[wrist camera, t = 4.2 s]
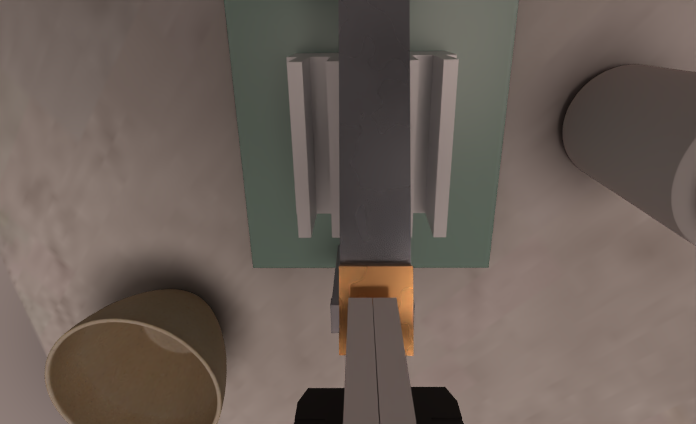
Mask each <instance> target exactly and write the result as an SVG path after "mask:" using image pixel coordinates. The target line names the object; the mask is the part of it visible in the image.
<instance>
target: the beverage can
mask: <svg viewBox="0 0 696 424" xmlns="http://www.w3.org/2000/svg"><path fill="white" fill-rule="evenodd" d="M563 143H564V147H565V150H566V152H567V154H568V156H569V158H570V160H571V161H572V162H573V163H574V164H575V166H576V167H578V168H579V169H580V170H581V171H583V172H584V173H586V174H587V175H589V176H590V177H592V178H593V179H595V180H596V181H598V182H599V183H601V184H602V185H604V186H606V187H607V188H609V189H610V190H612V191H613V192H615V193H616V194H618V195H619V196H621V197H622V198H624V199H625V200H627V201H628V202H630V203H631V204H633V205H634V206H636V207H637V208H639V209H640V210H642V211H643V212H645V213H646V214H648V215H649V216H651V217H652V218H654V219H655V220H657V221H658V222H660V223H662V224H663V225H665V226H666V227H668V228H669V229H671V230H672V231H674V232H675V233H677V234H678V235H680V236H681V237H683V238H684V239H686V240H687V241H689V242H690V243H692V244H693V245H695V246H696V72H691V71H684V70H676V69H669V68H662V67H655V66H648V65H639V64H632V65H623V66H619V67H615V68H612V69H610V70H607V71H605V72H603V73H601V74H599V75H598V76H596V77H595V78H593V79H592V80H591V81H589V82H588V83H587V84H586V85H585V86H584V87H583V88H582V89H581V90H580V91H579V92H578V93H577V95H576V96H575V97H574V99H573V101H572V102H571V104H570V106H569V108H568V110H567V113H566V116H565V119H564V123H563Z"/></svg>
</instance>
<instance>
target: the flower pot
mask: <svg viewBox="0 0 696 424" xmlns="http://www.w3.org/2000/svg"><path fill="white" fill-rule="evenodd" d="M45 383H46V387H47V391H48V394H49V396H50V399H51V401H52V403H53V404H54V406H55V407H56V409H57V410H58V412H59V413H60V414H61V416H62V417H63V418H64V419H65V420H66V421H67V422H68V423H69V424H217V423H218V420H219V417H220V414H221V410H222V405H223V400H224V395H225V387H226V351H225V344H224V339H223V335H222V332H221V328H220V326H219V323H218V321H217V318H216V316H215V315H214V313H213V311H212V309H211V308H210V306H209V305H208V304H207V303H206V302H205V301H204V300H203V299H201V298H200V297H199V296H197V295H195V294H193V293H190V292H188V291H184V290H178V289H163V290H154V291H149V292H145V293H141V294H137V295H133V296H130V297H127V298H125V299H122V300H120V301H117V302H115V303H113V304H111V305H108V306H106V307H105V308H103V309H101V310H99V311H97V312H96V313H94V314H92V315H90V316H89V317H87V318H86V319H84V320H83V321H81V322H80V323H78V324H77V325H75V326H74V327H73V328H71V329H70V330H69V331H67V332H66V333H65V334H64V335H63V336H62V337H61V338H59V339H58V341H57V342H56V343H55V344H54V346H53V347H52V349H51V351H50V353H49V355H48V357H47V361H46V365H45Z"/></svg>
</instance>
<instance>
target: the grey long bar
mask: <svg viewBox="0 0 696 424" xmlns="http://www.w3.org/2000/svg"><path fill="white" fill-rule="evenodd" d="M338 12H339V214H340V265H339V355H346V343H347V319H348V298H372V305H373V298H397V304H398V310H399V317H400V323H401V329H402V336H403V342H404V348H405V355H408V356H413V266H412V265H411V167H410V0H338Z"/></svg>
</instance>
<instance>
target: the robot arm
mask: <svg viewBox="0 0 696 424" xmlns="http://www.w3.org/2000/svg"><path fill="white" fill-rule="evenodd" d="M294 424H464V423H463V421H462V416H461V413H460V409H459V406H458V402H457V400H456V399H455V398H454V397H453V396H452V395H451V393H450V392H449V391H448V390H447V389H446V388H445V387H411V386H410V380H409V373H408V367H407V361H406V355H405V348H404V342H403V336H402V329H401V323H400V317H399V310H398V304H397V298H373V305H372V298H348V319H347V343H346V366H345V388H308V389H307V390H306V392H305V393H304V394H303V396H302V397H301V399H300V400H299V401H298V403H297V409H296V415H295V422H294Z"/></svg>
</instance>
